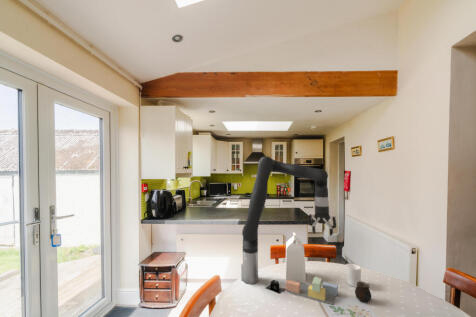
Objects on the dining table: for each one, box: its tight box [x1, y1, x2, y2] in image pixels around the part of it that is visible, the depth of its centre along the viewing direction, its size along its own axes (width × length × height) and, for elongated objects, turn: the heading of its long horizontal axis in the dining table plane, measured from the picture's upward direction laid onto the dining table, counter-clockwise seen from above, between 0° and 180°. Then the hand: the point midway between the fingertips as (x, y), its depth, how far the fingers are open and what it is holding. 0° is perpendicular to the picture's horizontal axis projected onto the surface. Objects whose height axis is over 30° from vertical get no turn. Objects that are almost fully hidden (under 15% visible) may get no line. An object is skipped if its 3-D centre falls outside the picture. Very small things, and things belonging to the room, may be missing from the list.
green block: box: [311, 276, 323, 292], centre depth 114 cm, size 7×4×4 cm, turn 150°
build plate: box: [265, 279, 285, 295], centre depth 121 cm, size 12×7×5 cm, turn 51°
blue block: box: [322, 281, 339, 297], centre depth 117 cm, size 7×4×4 cm, turn 60°
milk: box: [285, 232, 307, 283], centre depth 136 cm, size 12×12×26 cm
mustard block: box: [308, 284, 326, 301], centre depth 113 cm, size 8×4×4 cm, turn 60°
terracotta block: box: [285, 280, 301, 293], centre depth 120 cm, size 7×4×4 cm, turn 60°
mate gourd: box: [354, 281, 372, 304], centre depth 111 cm, size 7×8×10 cm
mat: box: [288, 281, 336, 306], centre depth 118 cm, size 22×13×1 cm, turn 60°
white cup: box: [345, 263, 362, 288], centre depth 126 cm, size 8×8×10 cm
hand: (322, 234), depth 122 cm, fingers open, 8 cm apart
